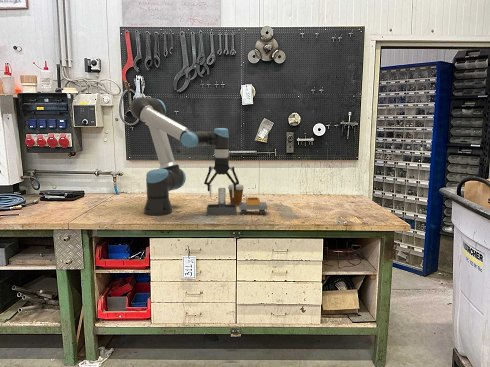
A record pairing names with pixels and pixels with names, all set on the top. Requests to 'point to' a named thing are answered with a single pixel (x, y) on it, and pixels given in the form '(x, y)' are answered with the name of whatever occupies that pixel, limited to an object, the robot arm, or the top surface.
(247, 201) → the plate with orange frame
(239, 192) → the disposable coffee cup
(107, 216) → the top surface
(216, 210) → the pin tray
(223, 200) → the pin
